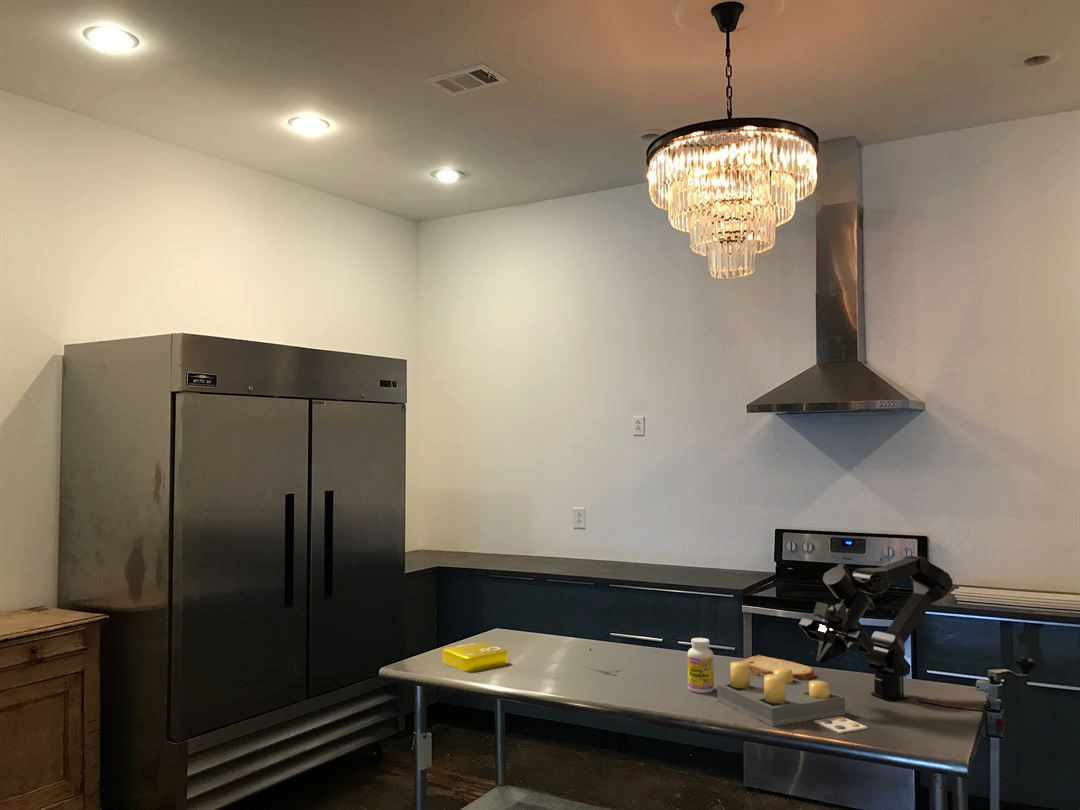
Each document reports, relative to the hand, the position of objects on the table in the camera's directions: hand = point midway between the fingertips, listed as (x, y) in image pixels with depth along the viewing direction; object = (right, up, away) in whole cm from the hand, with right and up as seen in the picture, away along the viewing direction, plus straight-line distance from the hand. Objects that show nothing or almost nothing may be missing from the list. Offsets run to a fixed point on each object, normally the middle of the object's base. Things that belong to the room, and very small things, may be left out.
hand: (818, 663), depth 195 cm
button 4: (0, -10, 0) cm, 10 cm away
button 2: (-12, -7, -5) cm, 15 cm away
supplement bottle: (-24, -13, +18) cm, 33 cm away
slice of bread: (0, -14, +35) cm, 38 cm away
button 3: (-5, -11, +11) cm, 16 cm away
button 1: (-17, -8, +7) cm, 20 cm away
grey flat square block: (-8, -12, +3) cm, 15 cm away
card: (+2, -11, -10) cm, 15 cm away
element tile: (-85, -15, +46) cm, 98 cm away
